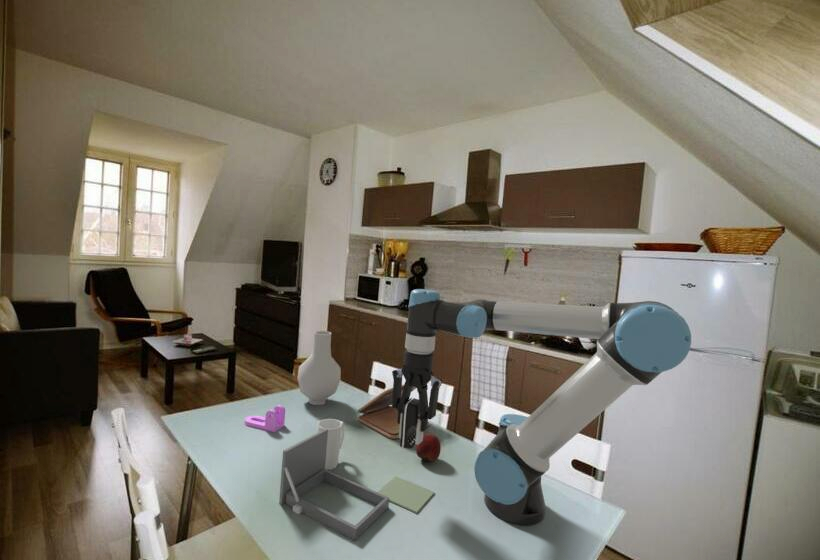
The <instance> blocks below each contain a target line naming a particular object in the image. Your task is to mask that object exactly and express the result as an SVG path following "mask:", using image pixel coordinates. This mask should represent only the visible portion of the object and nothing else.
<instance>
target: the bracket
mask: <svg viewBox="0 0 820 560" xmlns="http://www.w3.org/2000/svg"><path fill="white" fill-rule="evenodd" d="M285 419H286V408H285V407H284V406H283V405H282V404H278V405H276V406H274V408H270V409H269V410H267V411H266V413H265V416H261V415H257V414H256V415H249V416H246V417H245V418H244V425H245V426H248V427H252V428H257V429H260V430H264V431H267V432H271V433H272V432H273V433H275V432H277V431H278V430H280V429H281V428H283V427H284V426H285V421H286V420H285Z"/></svg>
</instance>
